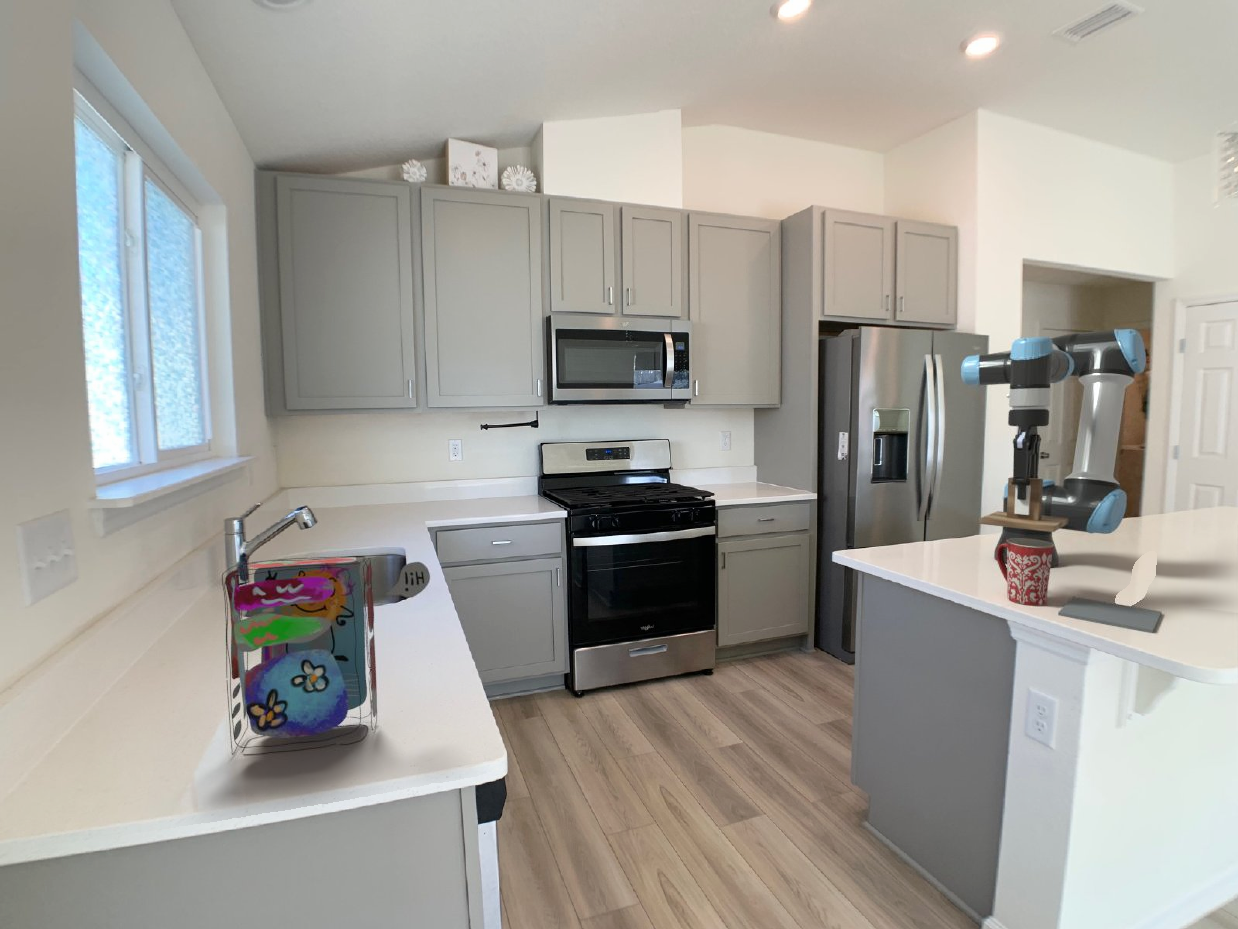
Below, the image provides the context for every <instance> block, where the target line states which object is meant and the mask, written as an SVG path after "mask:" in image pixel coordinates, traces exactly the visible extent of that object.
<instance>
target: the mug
mask: <svg viewBox="0 0 1238 929" xmlns="http://www.w3.org/2000/svg"><path fill="white" fill-rule="evenodd" d="M1006 542H1007V543H1005V544H1001V545H999V547H998V549H997V560H996V562H997V564H998V567H999V569H1000V572H1001V574H1002V576H1003V578H1004V579H1005V580H1004V581H1005V582H1006V583H1007V584H1006V585H1007V586H1006V587H1007V589H1006V590H1007V591H1006V592H1007V593H1006V594H1007V595H1006V596H1007V599H1008V601H1010V602H1013V603H1015V604H1020V605H1024V606H1025V605H1026V606H1032V607H1033V606H1034V607H1037V606H1038V607H1040V606H1045V605H1047V601H1048V600H1047V598H1048V589H1049V583H1050V582H1049V581H1050V573H1051V568H1052V567H1051V560H1052V552H1053V548H1054V544H1055V543H1054V544H1053V543H1050V542H1047V541H1042V540H1036V539H1027V538H1011V539H1007V540H1006ZM1006 547H1007V563H1005V561H1004V556H1003V553H1004V549H1005V548H1006Z"/></svg>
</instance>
